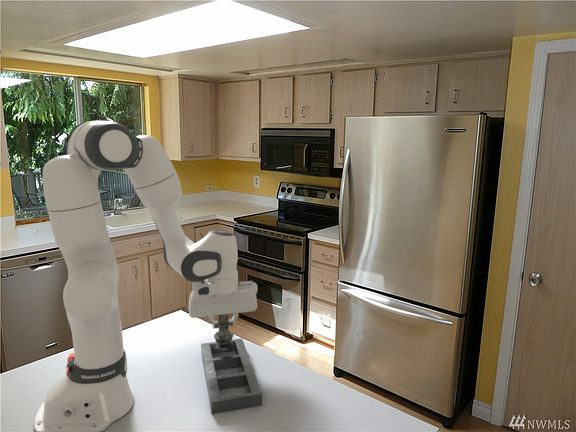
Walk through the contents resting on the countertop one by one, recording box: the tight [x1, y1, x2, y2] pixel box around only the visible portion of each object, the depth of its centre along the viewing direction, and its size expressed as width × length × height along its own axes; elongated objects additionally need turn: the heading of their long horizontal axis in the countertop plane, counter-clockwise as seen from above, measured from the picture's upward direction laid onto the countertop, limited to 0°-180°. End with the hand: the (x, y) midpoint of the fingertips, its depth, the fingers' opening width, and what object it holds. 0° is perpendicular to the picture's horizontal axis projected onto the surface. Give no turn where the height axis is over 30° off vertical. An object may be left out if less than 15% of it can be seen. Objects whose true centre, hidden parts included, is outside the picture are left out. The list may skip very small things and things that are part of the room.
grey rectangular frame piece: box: [200, 338, 263, 415], centre depth 120 cm, size 13×29×4 cm, turn 16°
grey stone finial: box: [213, 314, 234, 351], centre depth 126 cm, size 6×6×12 cm
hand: (223, 326), depth 126 cm, fingers closed on grey stone finial, 4 cm apart
